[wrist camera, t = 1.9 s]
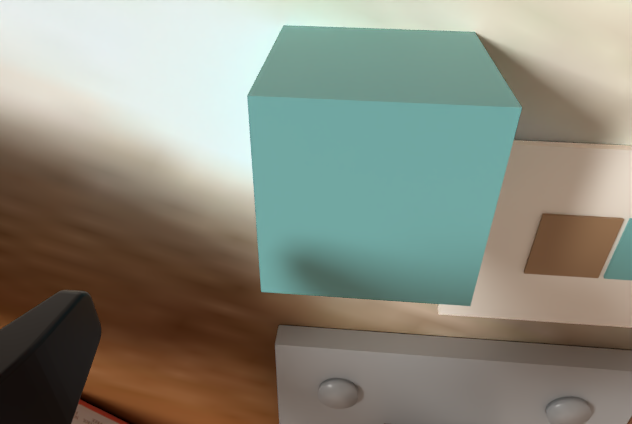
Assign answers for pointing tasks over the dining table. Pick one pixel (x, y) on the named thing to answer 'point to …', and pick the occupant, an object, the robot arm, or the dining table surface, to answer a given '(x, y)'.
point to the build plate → (445, 380)
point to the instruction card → (559, 238)
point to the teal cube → (377, 162)
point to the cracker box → (93, 415)
